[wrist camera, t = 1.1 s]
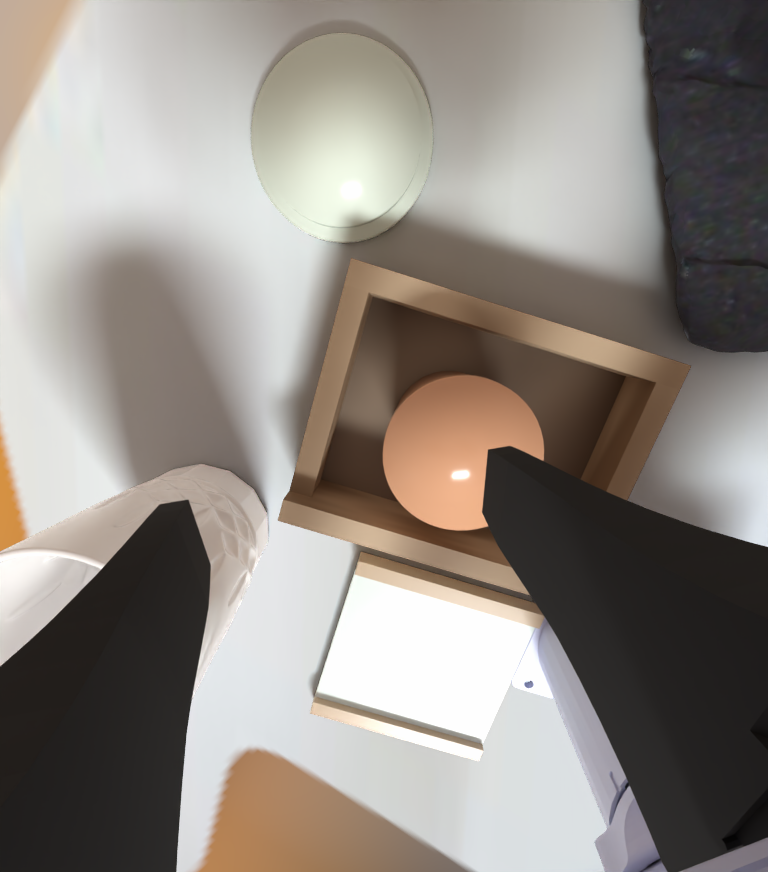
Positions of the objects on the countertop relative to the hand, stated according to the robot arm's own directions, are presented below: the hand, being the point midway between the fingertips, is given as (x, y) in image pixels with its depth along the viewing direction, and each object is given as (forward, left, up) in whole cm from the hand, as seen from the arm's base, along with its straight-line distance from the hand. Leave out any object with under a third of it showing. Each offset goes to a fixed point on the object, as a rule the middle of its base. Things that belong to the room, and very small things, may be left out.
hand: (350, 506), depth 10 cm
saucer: (+5, -11, -11) cm, 16 cm away
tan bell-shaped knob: (-3, -1, -10) cm, 11 cm away
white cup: (+7, +8, -11) cm, 15 cm away
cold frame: (-4, -1, -11) cm, 12 cm away
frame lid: (-6, +12, -11) cm, 18 cm away
